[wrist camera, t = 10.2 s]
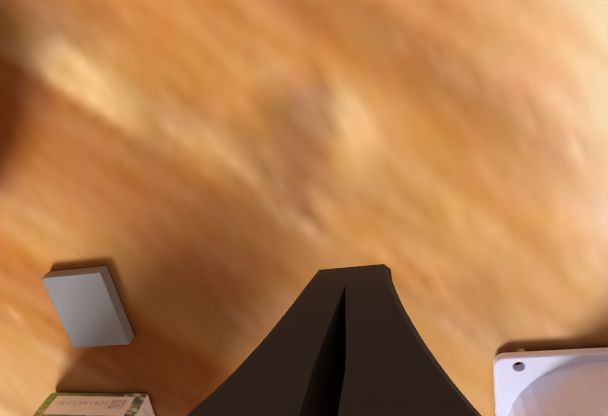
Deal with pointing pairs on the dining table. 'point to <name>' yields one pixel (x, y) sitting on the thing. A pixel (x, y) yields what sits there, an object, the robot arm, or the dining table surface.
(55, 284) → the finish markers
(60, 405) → the syrup box
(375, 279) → the robot arm
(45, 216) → the dining table surface
